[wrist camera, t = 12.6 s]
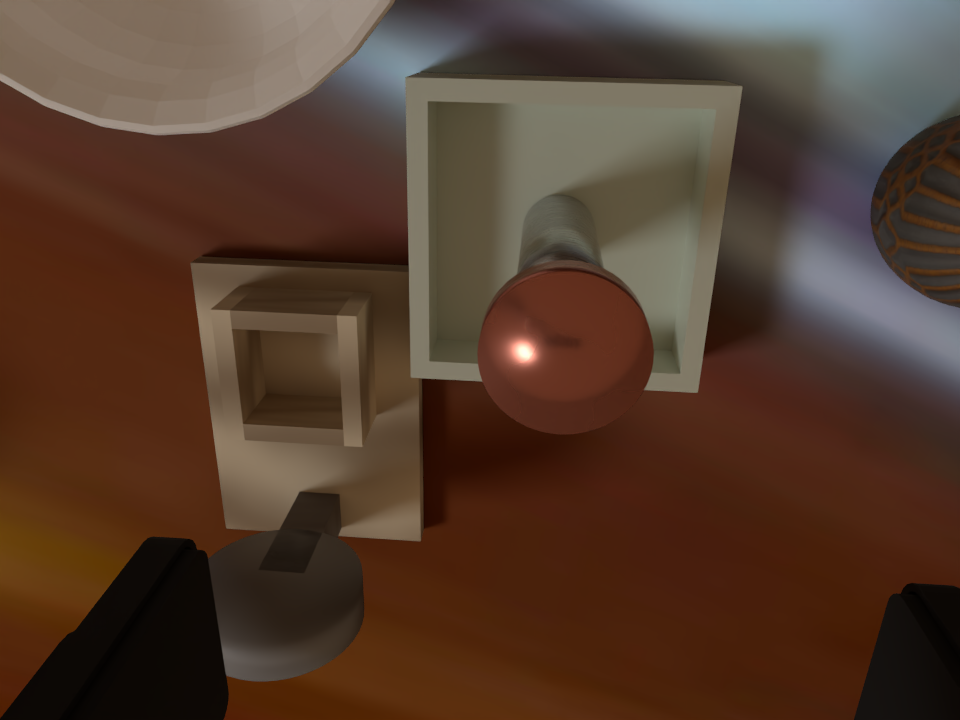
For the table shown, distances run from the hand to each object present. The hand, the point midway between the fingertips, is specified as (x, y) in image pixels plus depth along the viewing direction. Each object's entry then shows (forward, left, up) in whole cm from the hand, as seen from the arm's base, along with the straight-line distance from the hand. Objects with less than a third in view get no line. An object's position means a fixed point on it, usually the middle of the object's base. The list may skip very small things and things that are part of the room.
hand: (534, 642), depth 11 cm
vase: (-2, +16, -25) cm, 29 cm away
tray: (0, +1, -24) cm, 24 cm away
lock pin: (0, +1, -24) cm, 24 cm away
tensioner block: (+9, -10, -24) cm, 28 cm away
